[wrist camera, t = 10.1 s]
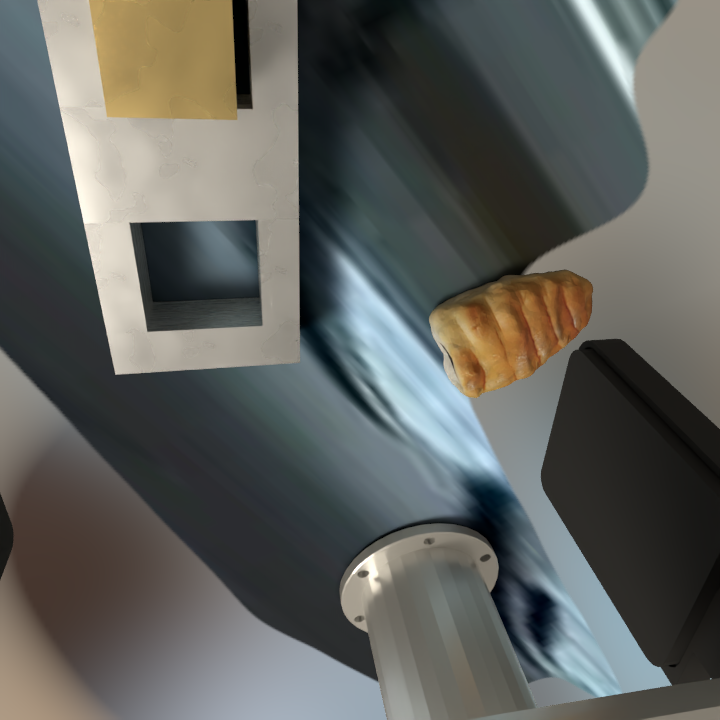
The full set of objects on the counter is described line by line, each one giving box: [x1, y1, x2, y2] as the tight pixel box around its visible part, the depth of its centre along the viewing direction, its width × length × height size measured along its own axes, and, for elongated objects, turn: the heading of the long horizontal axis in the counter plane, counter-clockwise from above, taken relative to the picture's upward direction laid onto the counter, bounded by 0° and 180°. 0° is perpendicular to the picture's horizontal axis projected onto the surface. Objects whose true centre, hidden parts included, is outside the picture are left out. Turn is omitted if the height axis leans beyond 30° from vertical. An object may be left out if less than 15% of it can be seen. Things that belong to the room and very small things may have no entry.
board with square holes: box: [37, 0, 300, 374], centre depth 26 cm, size 20×9×3 cm, turn 177°
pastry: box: [429, 270, 593, 398], centre depth 35 cm, size 9×7×4 cm
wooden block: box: [89, 0, 237, 120], centre depth 22 cm, size 4×4×8 cm
